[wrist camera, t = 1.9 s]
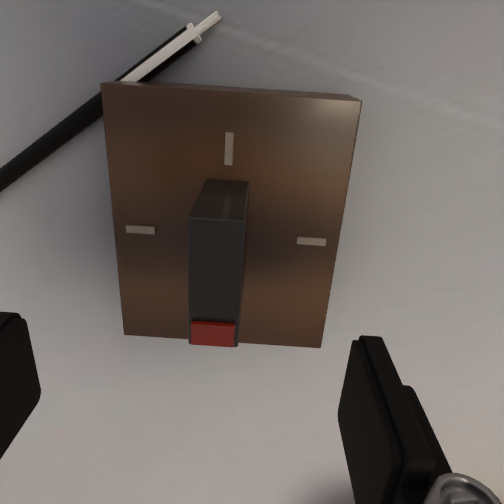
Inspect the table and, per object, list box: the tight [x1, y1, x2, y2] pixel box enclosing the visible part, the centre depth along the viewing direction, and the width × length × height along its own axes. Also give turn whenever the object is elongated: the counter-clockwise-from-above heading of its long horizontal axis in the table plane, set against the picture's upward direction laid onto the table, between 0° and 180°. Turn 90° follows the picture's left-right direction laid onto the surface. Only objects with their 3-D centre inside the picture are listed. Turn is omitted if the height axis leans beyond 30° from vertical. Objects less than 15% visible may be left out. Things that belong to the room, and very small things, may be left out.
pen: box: [0, 10, 222, 192], centre depth 20 cm, size 1×19×1 cm, turn 123°
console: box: [101, 80, 362, 348], centre depth 21 cm, size 13×11×3 cm
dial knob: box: [187, 179, 250, 347], centre depth 17 cm, size 6×2×5 cm, turn 177°
